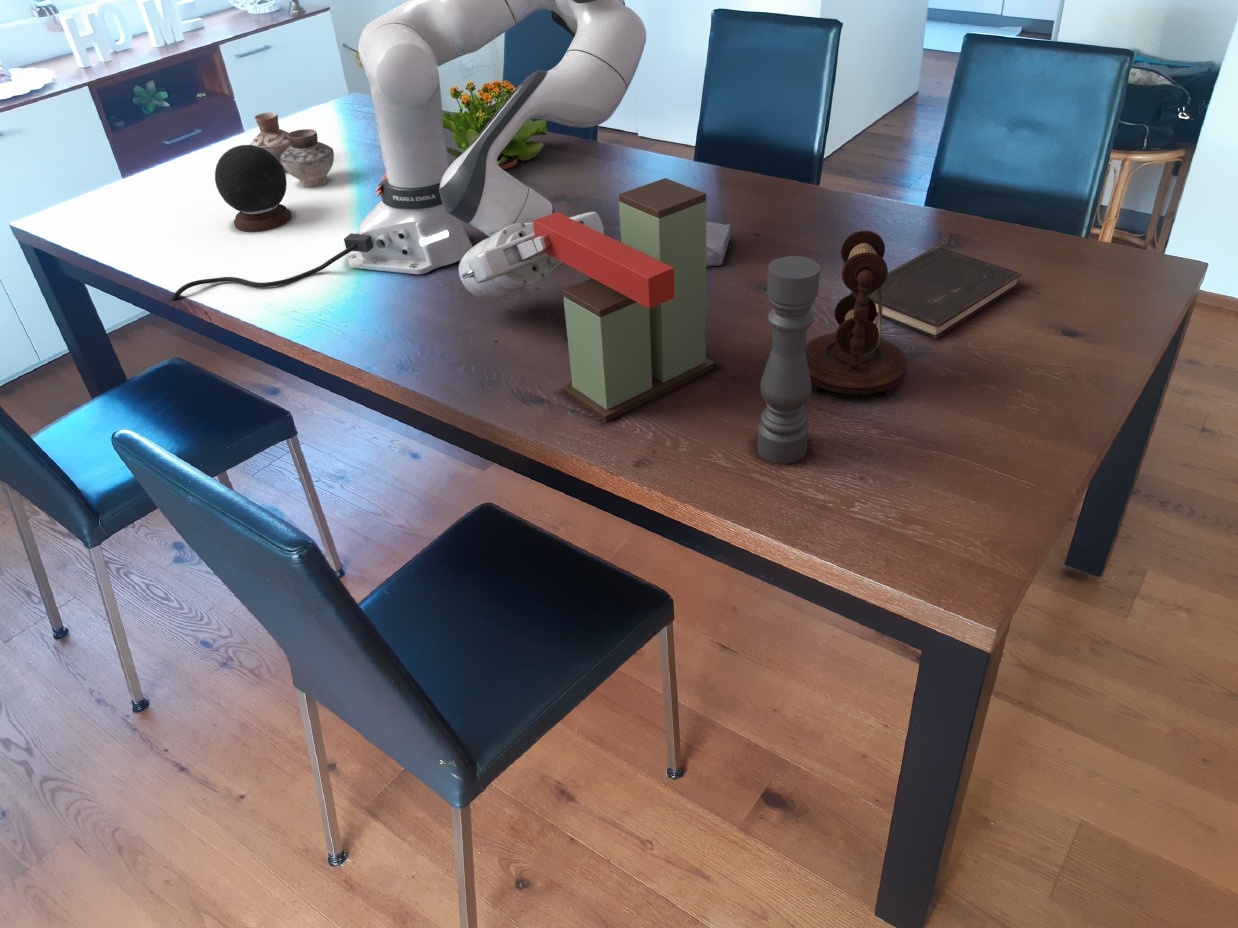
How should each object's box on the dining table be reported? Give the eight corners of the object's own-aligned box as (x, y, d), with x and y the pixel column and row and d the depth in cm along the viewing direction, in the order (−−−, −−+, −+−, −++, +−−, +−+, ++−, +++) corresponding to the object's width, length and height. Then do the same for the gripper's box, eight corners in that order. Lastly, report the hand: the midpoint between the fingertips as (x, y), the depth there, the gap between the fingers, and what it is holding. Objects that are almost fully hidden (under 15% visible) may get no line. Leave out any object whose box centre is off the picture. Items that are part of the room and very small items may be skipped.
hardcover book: (1018, 286, 146) (1021, 273, 145) (936, 339, 135) (938, 325, 133) (931, 257, 156) (933, 244, 155) (847, 304, 145) (849, 291, 143)
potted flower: (541, 183, 193) (532, 98, 183) (430, 189, 194) (415, 104, 184) (549, 144, 213) (541, 65, 202) (449, 149, 214) (436, 71, 203)
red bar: (535, 248, 124) (532, 220, 122) (559, 239, 126) (556, 212, 124) (649, 309, 109) (648, 278, 106) (674, 298, 111) (674, 267, 108)
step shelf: (562, 392, 129) (543, 216, 113) (669, 342, 138) (666, 173, 122) (606, 422, 122) (592, 240, 106) (715, 368, 132) (717, 193, 116)
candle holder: (752, 437, 118) (760, 257, 103) (799, 432, 118) (814, 253, 103) (762, 466, 113) (772, 282, 98) (812, 461, 113) (829, 277, 98)
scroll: (908, 406, 122) (931, 268, 109) (795, 400, 124) (806, 265, 112) (901, 349, 133) (921, 219, 121) (798, 345, 135) (807, 217, 123)
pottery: (290, 158, 215) (276, 105, 208) (350, 180, 201) (337, 125, 194) (247, 172, 209) (230, 118, 202) (305, 196, 195) (290, 139, 188)
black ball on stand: (215, 230, 183) (190, 155, 173) (258, 205, 192) (236, 133, 183) (268, 237, 178) (245, 161, 169) (310, 211, 188) (290, 138, 179)
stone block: (670, 275, 160) (726, 266, 157) (664, 249, 157) (721, 240, 154) (681, 248, 169) (734, 240, 166) (675, 223, 167) (729, 215, 164)
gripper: (448, 257, 128) (486, 236, 116) (566, 215, 137) (613, 191, 125) (466, 300, 129) (506, 283, 117) (581, 255, 138) (629, 235, 127)
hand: (562, 235), depth 121 cm, fingers closed on red bar, 4 cm apart
